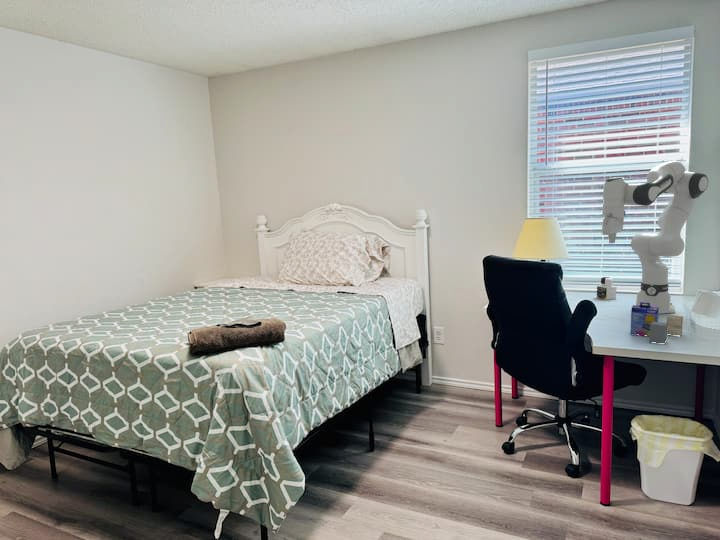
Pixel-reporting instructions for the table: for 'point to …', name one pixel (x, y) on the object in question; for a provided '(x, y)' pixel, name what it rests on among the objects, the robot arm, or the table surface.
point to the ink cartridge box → (643, 318)
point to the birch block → (674, 324)
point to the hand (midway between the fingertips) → (612, 243)
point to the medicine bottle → (606, 289)
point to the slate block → (658, 332)
